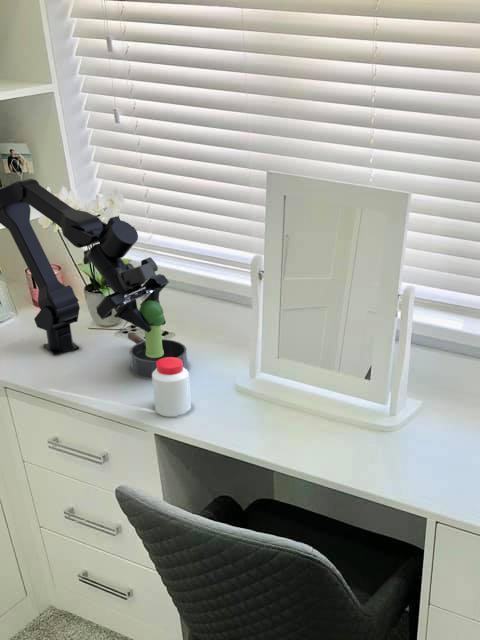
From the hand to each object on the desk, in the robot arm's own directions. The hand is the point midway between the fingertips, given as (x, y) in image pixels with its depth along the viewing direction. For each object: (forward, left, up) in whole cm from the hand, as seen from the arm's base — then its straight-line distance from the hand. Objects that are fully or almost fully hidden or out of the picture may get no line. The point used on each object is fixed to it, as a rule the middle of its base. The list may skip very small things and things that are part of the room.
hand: (157, 327), depth 174 cm
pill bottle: (+12, -5, -14) cm, 19 cm away
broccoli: (-1, 0, -7) cm, 7 cm away
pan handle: (-17, +4, -11) cm, 20 cm away
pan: (-7, +4, -13) cm, 16 cm away
